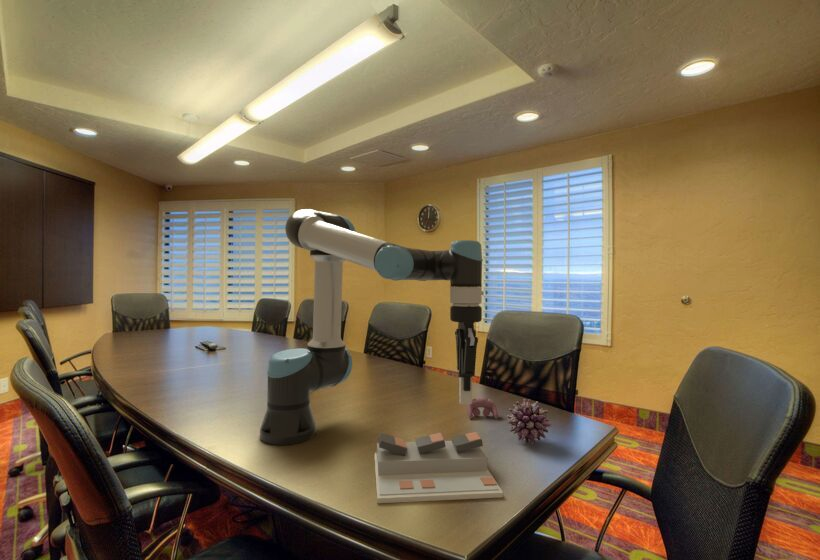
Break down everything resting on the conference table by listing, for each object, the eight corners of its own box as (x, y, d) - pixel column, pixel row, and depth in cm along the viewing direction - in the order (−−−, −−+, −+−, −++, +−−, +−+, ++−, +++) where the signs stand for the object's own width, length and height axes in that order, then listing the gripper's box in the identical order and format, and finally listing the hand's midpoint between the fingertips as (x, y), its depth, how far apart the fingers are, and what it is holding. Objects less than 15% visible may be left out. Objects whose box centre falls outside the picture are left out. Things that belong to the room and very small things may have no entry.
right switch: (457, 452, 91) (455, 445, 91) (452, 443, 96) (451, 437, 96) (482, 446, 92) (481, 438, 92) (477, 437, 96) (475, 430, 96)
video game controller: (495, 420, 128) (493, 399, 132) (499, 419, 124) (497, 396, 127) (466, 420, 128) (465, 398, 131) (469, 418, 124) (467, 396, 127)
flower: (546, 455, 100) (547, 409, 100) (501, 444, 106) (502, 401, 106) (554, 439, 110) (554, 397, 110) (511, 430, 116) (512, 391, 116)
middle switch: (419, 453, 90) (417, 446, 90) (416, 444, 94) (415, 438, 94) (445, 447, 90) (444, 440, 90) (441, 438, 95) (440, 431, 95)
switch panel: (377, 503, 77) (377, 483, 77) (374, 457, 97) (374, 441, 97) (502, 497, 80) (503, 478, 80) (475, 453, 100) (475, 438, 100)
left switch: (379, 447, 89) (381, 440, 89) (378, 438, 93) (380, 432, 93) (405, 455, 89) (407, 448, 89) (403, 446, 94) (405, 439, 94)
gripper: (489, 306, 87) (488, 411, 87) (474, 303, 100) (473, 395, 100) (456, 306, 86) (456, 412, 86) (445, 303, 99) (445, 395, 99)
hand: (465, 403), depth 93 cm, fingers closed
